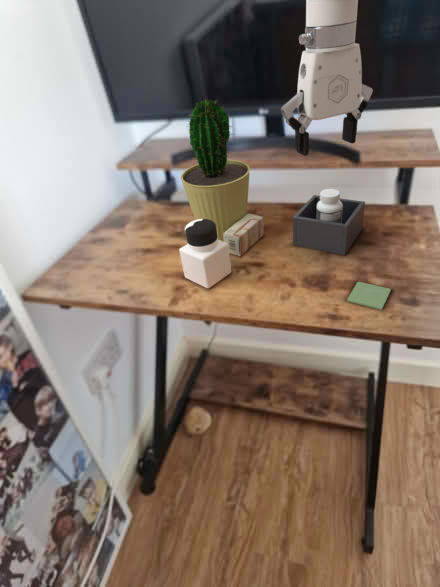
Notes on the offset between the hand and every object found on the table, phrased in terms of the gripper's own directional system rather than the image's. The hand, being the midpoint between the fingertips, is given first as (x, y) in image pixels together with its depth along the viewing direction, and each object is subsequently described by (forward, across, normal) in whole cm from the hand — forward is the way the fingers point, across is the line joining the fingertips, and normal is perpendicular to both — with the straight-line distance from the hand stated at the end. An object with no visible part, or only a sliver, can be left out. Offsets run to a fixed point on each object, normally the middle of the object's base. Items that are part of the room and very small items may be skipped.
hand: (325, 147), depth 73 cm
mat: (+22, -2, -18) cm, 28 cm away
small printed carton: (+19, -18, +8) cm, 27 cm away
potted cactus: (+22, -16, +19) cm, 33 cm away
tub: (+22, +4, +3) cm, 22 cm away
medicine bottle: (+22, -25, +3) cm, 33 cm away
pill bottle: (+21, +4, +3) cm, 22 cm away
